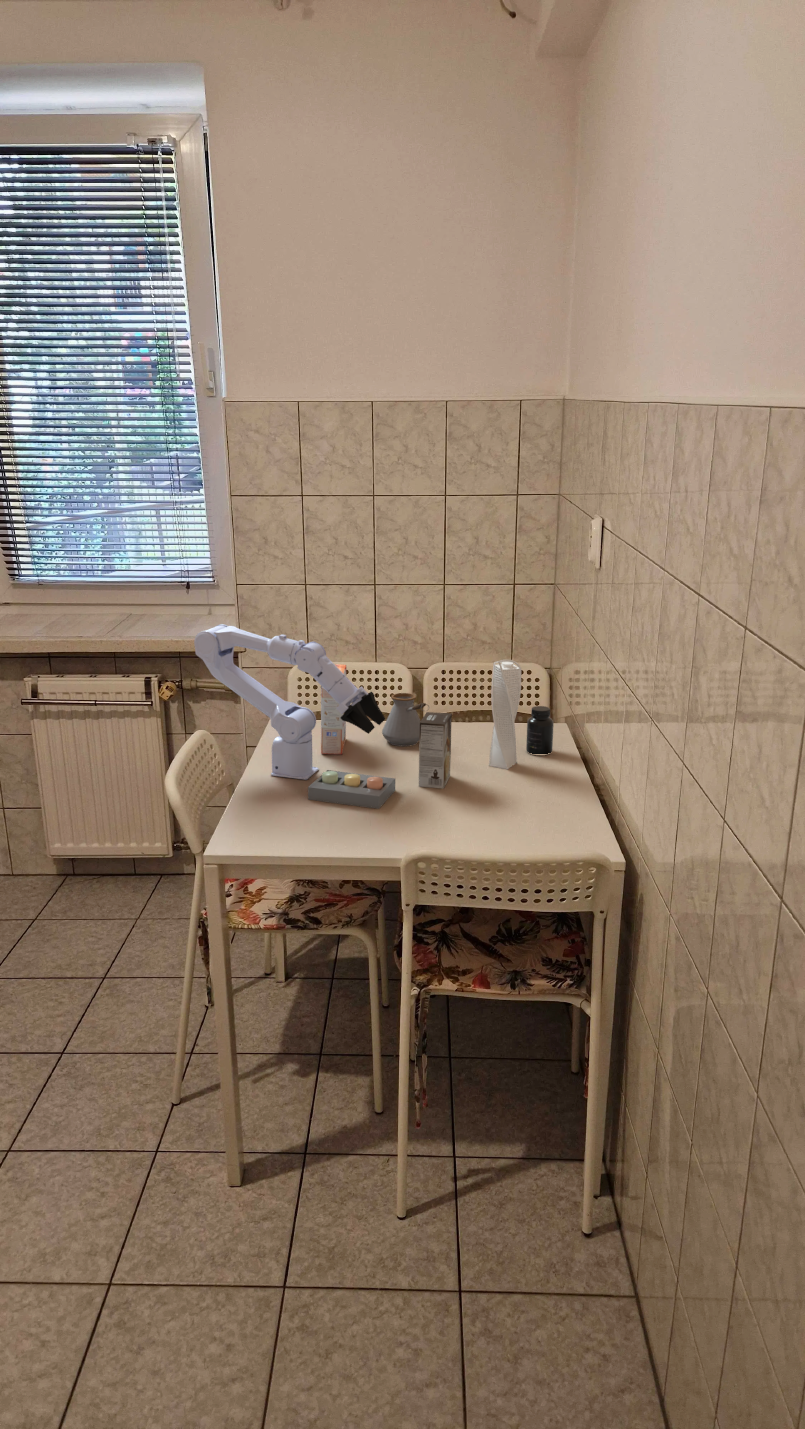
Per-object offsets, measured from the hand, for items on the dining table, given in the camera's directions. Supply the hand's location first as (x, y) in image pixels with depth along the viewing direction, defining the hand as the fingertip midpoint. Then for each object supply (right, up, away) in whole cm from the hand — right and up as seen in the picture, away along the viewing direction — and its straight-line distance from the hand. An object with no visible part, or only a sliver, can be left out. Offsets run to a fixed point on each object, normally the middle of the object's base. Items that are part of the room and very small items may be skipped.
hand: (377, 726), depth 233 cm
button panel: (-6, -16, -3) cm, 17 cm away
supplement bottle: (+42, -7, +28) cm, 51 cm away
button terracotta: (0, -15, -5) cm, 16 cm away
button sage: (-11, -14, -1) cm, 18 cm away
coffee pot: (+8, -6, +31) cm, 32 cm away
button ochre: (-6, -15, -3) cm, 16 cm away
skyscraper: (+31, -10, +19) cm, 38 cm away
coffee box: (+14, -13, +7) cm, 20 cm away
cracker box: (-12, -6, +30) cm, 33 cm away
